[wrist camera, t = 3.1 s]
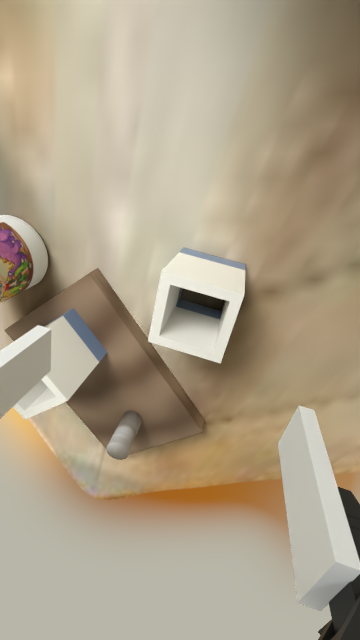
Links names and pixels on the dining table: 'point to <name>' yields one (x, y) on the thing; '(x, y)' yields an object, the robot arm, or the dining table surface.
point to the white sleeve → (193, 319)
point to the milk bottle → (20, 257)
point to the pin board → (119, 374)
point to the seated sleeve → (63, 364)
